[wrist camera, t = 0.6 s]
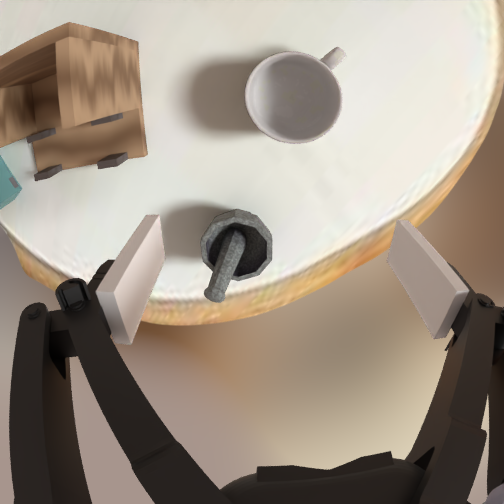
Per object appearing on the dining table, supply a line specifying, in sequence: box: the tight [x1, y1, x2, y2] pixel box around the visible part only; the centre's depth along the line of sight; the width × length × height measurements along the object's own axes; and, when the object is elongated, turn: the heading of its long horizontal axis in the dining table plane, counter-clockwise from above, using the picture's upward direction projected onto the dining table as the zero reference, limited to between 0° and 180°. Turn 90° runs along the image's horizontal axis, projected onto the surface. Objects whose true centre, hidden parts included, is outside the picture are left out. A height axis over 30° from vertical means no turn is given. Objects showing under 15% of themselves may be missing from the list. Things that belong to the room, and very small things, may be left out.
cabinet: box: [0, 22, 148, 181], centre depth 28 cm, size 17×20×18 cm
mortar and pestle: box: [200, 209, 272, 303], centre depth 41 cm, size 11×9×12 cm
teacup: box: [245, 47, 346, 144], centre depth 32 cm, size 14×11×8 cm
